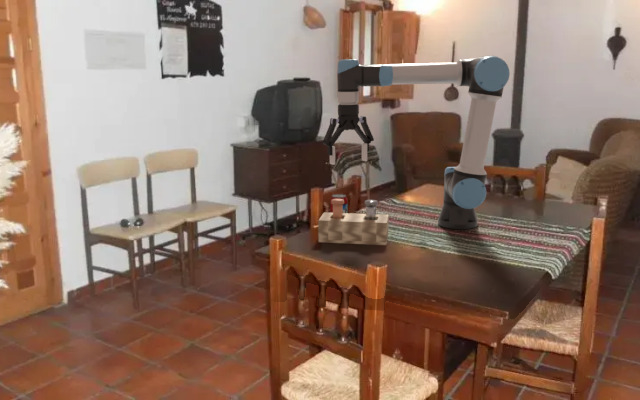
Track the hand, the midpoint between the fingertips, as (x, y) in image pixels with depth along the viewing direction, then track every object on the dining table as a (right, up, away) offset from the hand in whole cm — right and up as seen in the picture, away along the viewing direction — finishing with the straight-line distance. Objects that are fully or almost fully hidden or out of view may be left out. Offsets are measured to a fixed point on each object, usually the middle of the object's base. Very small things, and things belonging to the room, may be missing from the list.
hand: (348, 162), depth 220 cm
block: (+2, -28, -1) cm, 28 cm away
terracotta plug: (-4, -22, -2) cm, 22 cm away
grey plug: (+8, -22, -3) cm, 24 cm away
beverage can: (-3, -24, +17) cm, 30 cm away
